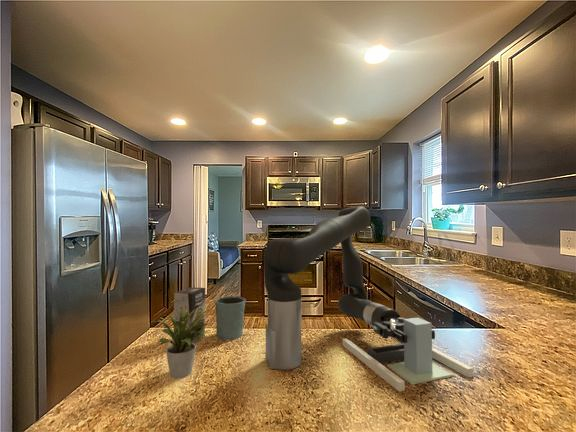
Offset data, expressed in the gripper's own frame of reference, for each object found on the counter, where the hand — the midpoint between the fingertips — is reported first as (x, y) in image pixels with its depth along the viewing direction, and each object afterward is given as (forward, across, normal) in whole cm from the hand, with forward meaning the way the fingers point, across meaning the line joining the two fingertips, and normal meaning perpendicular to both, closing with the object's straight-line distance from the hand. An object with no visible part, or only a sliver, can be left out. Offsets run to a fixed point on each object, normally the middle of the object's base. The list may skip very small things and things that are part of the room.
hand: (420, 337), depth 72 cm
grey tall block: (-1, 0, +8) cm, 8 cm away
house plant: (-17, -58, +9) cm, 61 cm away
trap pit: (-9, 0, +9) cm, 13 cm away
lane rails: (-8, 0, +9) cm, 12 cm away
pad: (-1, 0, +9) cm, 9 cm away
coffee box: (-40, -56, +9) cm, 69 cm away
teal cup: (-40, -43, +9) cm, 59 cm away
